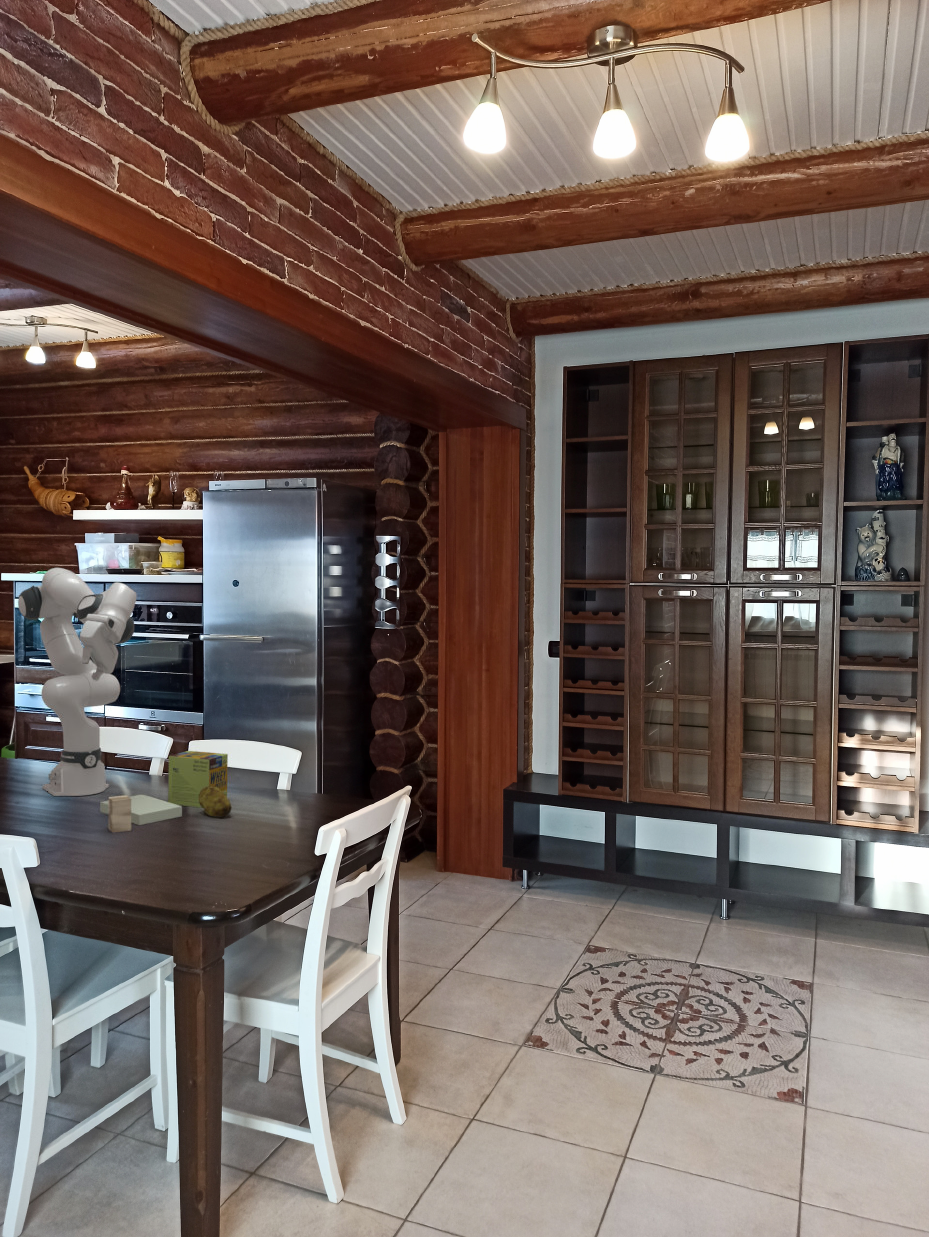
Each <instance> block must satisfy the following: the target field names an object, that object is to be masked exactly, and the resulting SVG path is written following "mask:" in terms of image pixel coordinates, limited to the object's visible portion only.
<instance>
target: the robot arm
mask: <svg viewBox="0 0 929 1237" xmlns="http://www.w3.org/2000/svg"><path fill="white" fill-rule="evenodd" d="M137 596H138V595H137V592H136V591H135V590H134V589H133V588H132V587H131V586H129V585H127V584H125V583H123V582H113V583H112V584H111V586H109V587H108V588H107V589H106V590H105V591H103V592H100V593H94V592H93V590H92V589H91V588H90V586H89V585H88V584H87V583H86V582H85V581H84V580H83V579H82V578H81V577H80V575H78V574H76V573H74V571H72V570H69V569H65V568H62V567H54V568H53V567H52V568H50V569H48V570H47V571H46V572H45V573H44V574H43V576H42V579H41V585H38V586H35V585H32V586H31V587H29V588H26V589H24V590H23V591H21V593H19V595H18V600H17V607H18V609H19V612H20V613H21V616H22V617H24V618H25V619H26V620H31V621H32V620H33V621H34V620H35V621H37V620H39V619H42V620H41V622H40V625H39V629H40V637H41V640H42V643H43V647H44V650H45V652H46V654H47V657H48V658H49V659H48V660H49V662H50V664H51V666H52V668H53V669H54V671H56V672H58V673H59V674H62V676H61V675H60V676H57V677H54V678H53V677H52V678H50V679H47V680H46V681H45V682H44V684H43V686H42V688H41V692H40V693H41V699H42V701H43V703H44V705H45V706H46V707H47V708H49V709H50V710H52V712H54V713H55V714H56V716H57V717H58V719H59V721H60V724H61V727H62V734H63V737H62V739H63V749H62V750H61V752H60V761H59V763H57V765H56V766H55V767H53V769H51V771H50V773H49V774H48V780H49V782H48V783H45V784H43V785H42V789H43V790H44V791H46V792H47V791H48V792H47V793H49V794H50V795H52V796H53V797H61V796H62V797H65V796H67V797H71V796H72V797H76V796H78V797H79V796H90V795H94V794H95V795H96V794H99V793H103V792H104V791H105V790H106V789H108V788H110V784H109V783H106V770H105V764H104V763H103V761H102V760H101V759H102V748H101V747H100V745H101V743H100V741H101V740H100V736H101V734H100V733H101V729H100V725H99V723H97V722H96V721H95V720H93V719H91V718H89V717H88V716H87V715H86V712H85V708H90V707H100V706H106V705H108V704H112V703H114V702H116V701H117V699H118V698H119V695H120V693H121V684H120V682H119V680H118V679H117V677H116V676H115V675H113V674H112V673H113V672H114V670H115V666H116V664H117V661H118V657H119V651H118V648H117V647H118V646H117V645H121V644H124V643H127V642H129V641H130V639H131V638H132V637H133V636H134V633H135V621H134V619H133V617H131V616H132V613H133V611H134V609H135V606H136V603H137ZM73 617H74V618H75V619H77V620H79V621H80V622H82V624H83V625H82V628H81V631H80V633H79V635H78V633H77V630H76V629H75V628H74V625H73Z"/></svg>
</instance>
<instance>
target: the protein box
mask: <svg viewBox="0 0 929 1237" xmlns="http://www.w3.org/2000/svg"><path fill="white" fill-rule="evenodd" d="M208 786H214V787H217V788H219V789H220V790H221V791H222V792H223V793H225V794H226V796H227V797H228V753H218V752H210V751H209V752H208V751H197V750H194V751H193V750H187V751H183V752H179V753H175V754H171V755H168V791H167V792H168V793H167V794H168V795H167V796H168V798H167V799H168V800H167V802H169V803H172V804H176V805H179V806H182V807H183V806H185V807H192V808H200V807H201V805H200V803H199V794H200V791H201V790H202V789H204V788H206V787H208ZM201 808H202V807H201ZM202 809H203V808H202Z"/></svg>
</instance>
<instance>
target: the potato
mask: <svg viewBox="0 0 929 1237" xmlns="http://www.w3.org/2000/svg"><path fill="white" fill-rule="evenodd" d="M199 803H200V805H201V807H202V809H203V810H204V813H205V814H207V815H208V816H210V817H212V818H214V817H216V818H224V817H227V816H228V815H229V814H230V813H231V811H232V808H233V807H232V804H231V802H230V800H229V798H228V795H227V796H226V794H225V793H223V792H222V791H221V790H220V789H219V788H217V787H214V786H208V787H206V788H204V789H202V790H201V791H200V794H199Z"/></svg>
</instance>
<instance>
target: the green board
mask: <svg viewBox="0 0 929 1237" xmlns="http://www.w3.org/2000/svg"><path fill="white" fill-rule="evenodd" d="M129 797H130V798H131V824H135V825H138V826H142V825H146V824H151V823H156V822H162V821H166V820H171V819H175V818H179V817H180V818H181V817H182V816H183V805H176V804H172V803H169V802H168V801H165V800H162V799H159V798H156V797H152V796H149V795H146V794H136V795H131V796H129ZM99 804H100V808H99V809H100V810H99V811H100V813H102V814H105V815H107V816H109V800H105V801H100V803H99Z"/></svg>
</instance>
